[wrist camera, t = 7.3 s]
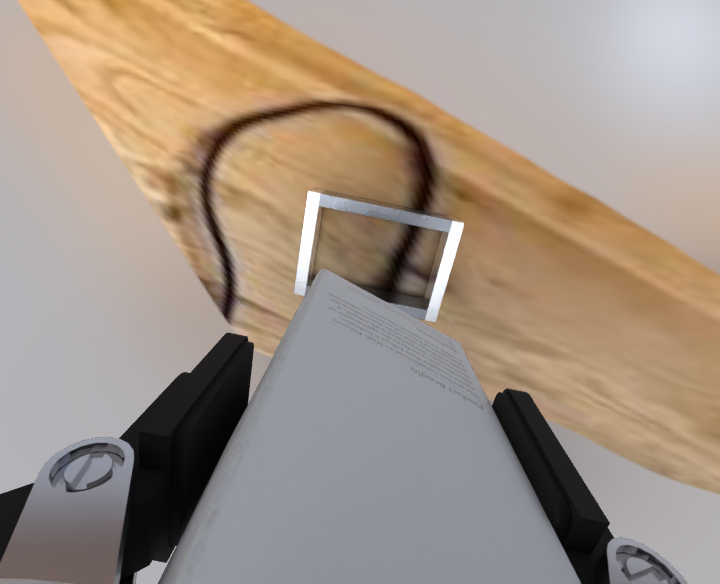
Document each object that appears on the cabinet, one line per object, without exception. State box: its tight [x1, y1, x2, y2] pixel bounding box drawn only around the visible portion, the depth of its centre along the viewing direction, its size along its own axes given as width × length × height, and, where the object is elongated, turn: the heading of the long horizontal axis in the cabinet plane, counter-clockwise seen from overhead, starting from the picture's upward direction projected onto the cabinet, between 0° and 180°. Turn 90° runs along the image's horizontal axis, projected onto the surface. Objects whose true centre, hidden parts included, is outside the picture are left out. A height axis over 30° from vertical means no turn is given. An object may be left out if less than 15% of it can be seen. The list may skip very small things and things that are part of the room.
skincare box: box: [158, 269, 581, 584], centre depth 8 cm, size 6×4×12 cm
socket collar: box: [294, 189, 464, 322], centre depth 27 cm, size 11×7×2 cm
